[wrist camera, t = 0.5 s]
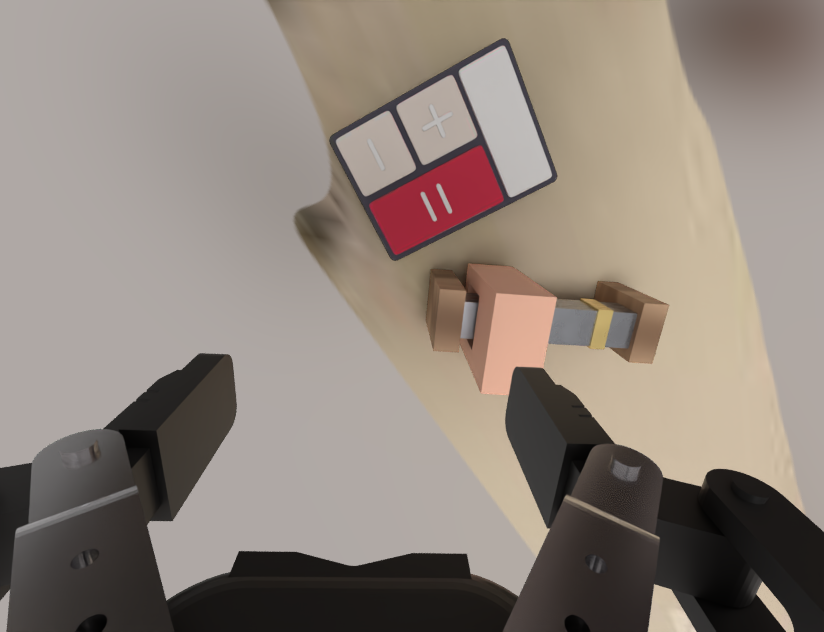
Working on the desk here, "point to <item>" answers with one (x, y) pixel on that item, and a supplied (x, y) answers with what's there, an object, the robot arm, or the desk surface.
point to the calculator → (446, 152)
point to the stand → (651, 312)
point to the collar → (506, 325)
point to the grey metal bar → (574, 323)
